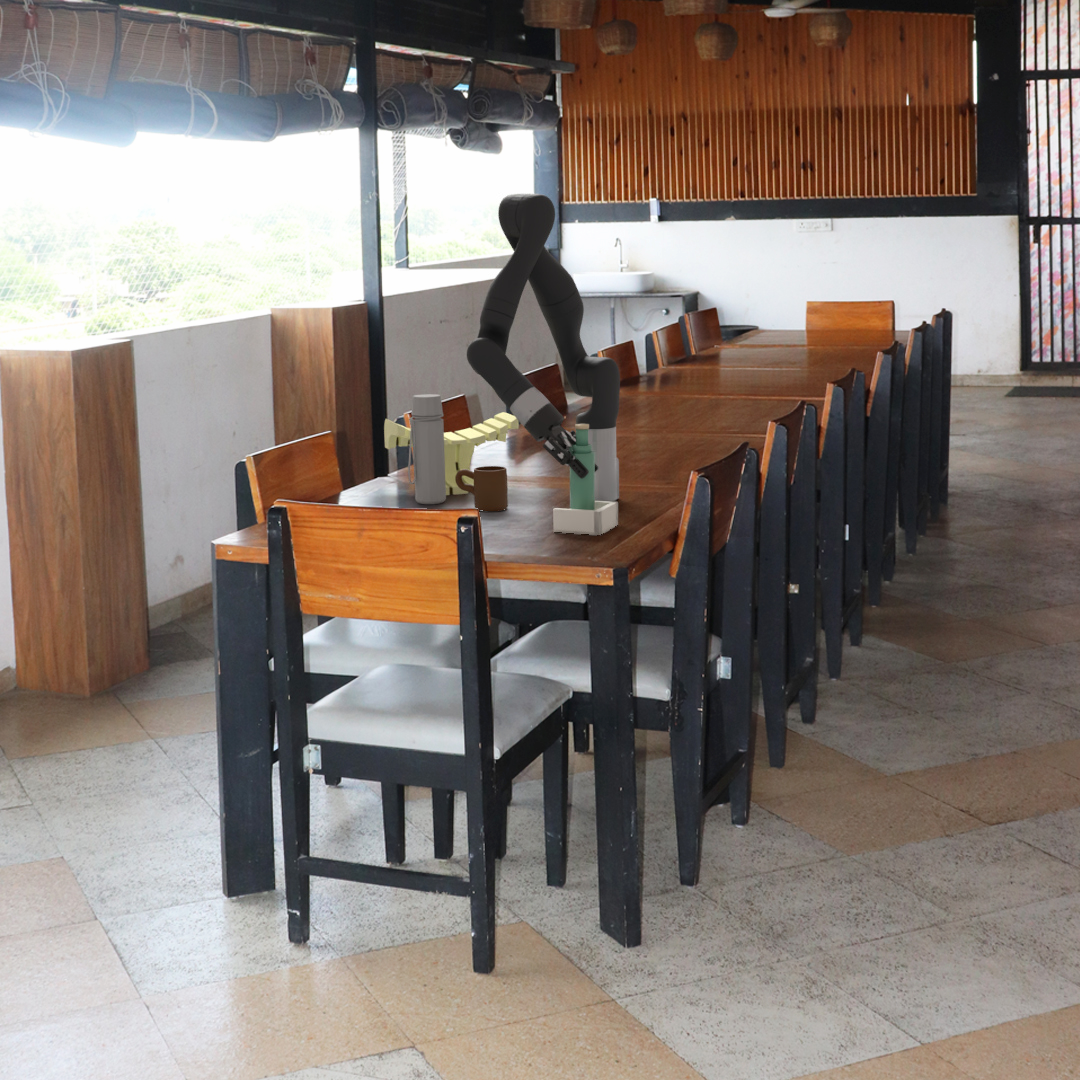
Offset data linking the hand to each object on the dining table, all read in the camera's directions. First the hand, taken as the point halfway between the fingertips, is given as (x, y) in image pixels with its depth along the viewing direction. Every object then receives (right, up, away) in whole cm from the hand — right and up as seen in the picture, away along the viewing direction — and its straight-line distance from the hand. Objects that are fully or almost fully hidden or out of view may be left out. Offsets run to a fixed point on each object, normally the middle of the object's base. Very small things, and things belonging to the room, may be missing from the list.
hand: (590, 473), depth 282 cm
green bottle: (-2, -8, +2) cm, 9 cm away
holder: (-1, -11, +3) cm, 12 cm away
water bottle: (-37, -5, +36) cm, 52 cm away
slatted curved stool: (-32, -1, +55) cm, 63 cm away
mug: (-24, -7, +27) cm, 37 cm away
